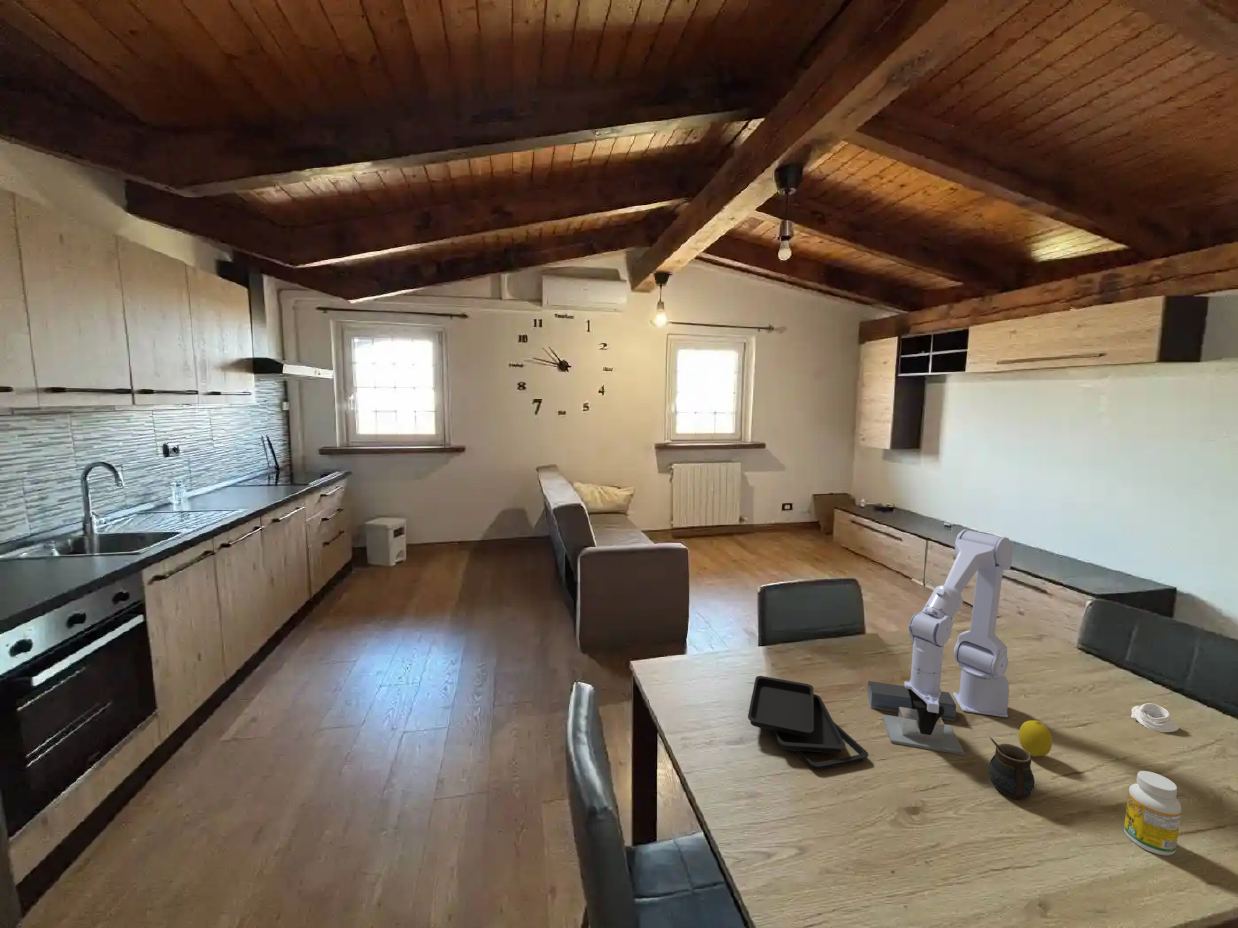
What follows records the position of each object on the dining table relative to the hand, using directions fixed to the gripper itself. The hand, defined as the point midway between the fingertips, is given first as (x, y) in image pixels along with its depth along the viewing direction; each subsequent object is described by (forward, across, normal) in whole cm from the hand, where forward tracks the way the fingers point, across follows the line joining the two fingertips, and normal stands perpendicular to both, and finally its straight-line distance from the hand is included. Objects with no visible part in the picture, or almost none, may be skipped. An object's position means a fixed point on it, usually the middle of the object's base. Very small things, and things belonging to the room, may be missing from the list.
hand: (921, 724), depth 119 cm
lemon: (+3, +1, +21) cm, 21 cm away
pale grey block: (+2, 0, 0) cm, 2 cm away
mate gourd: (+3, +14, +12) cm, 19 cm away
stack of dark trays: (+3, +7, -28) cm, 28 cm away
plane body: (+2, -11, 0) cm, 11 cm away
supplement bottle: (+3, +21, +30) cm, 37 cm away
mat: (+2, 0, 0) cm, 2 cm away
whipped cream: (+3, -21, +53) cm, 57 cm away
